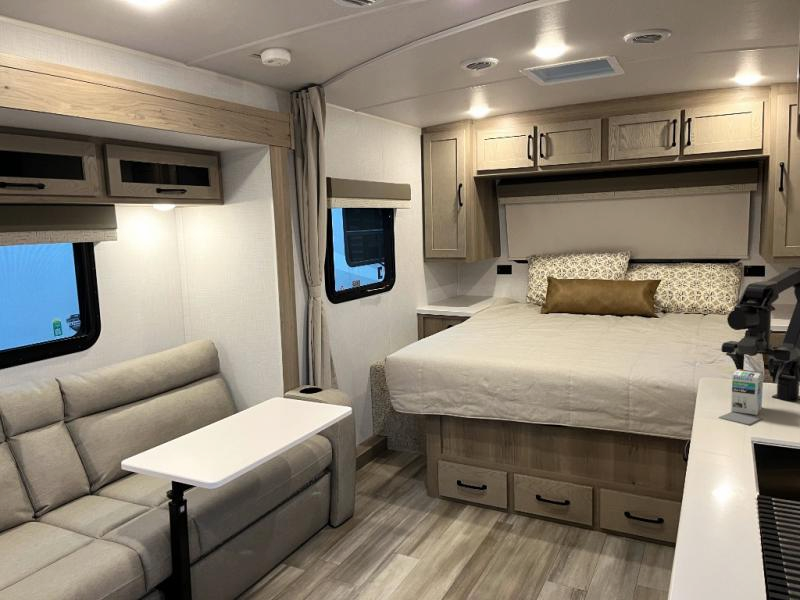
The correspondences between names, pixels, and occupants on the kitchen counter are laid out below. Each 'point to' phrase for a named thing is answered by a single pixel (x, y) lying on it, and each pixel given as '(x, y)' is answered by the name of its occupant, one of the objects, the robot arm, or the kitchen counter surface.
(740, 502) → the kitchen counter surface
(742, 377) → the light bulb box
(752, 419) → the mat
